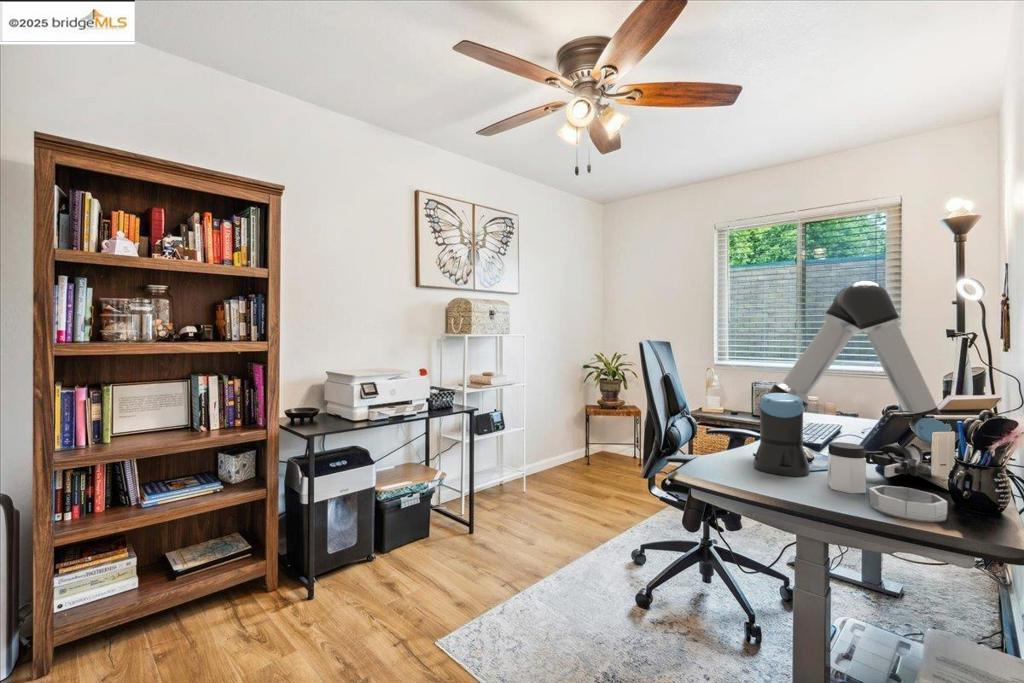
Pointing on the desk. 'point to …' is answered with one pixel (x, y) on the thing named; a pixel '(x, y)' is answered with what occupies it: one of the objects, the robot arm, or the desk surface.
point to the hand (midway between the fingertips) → (857, 465)
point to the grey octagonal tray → (908, 503)
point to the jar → (847, 467)
